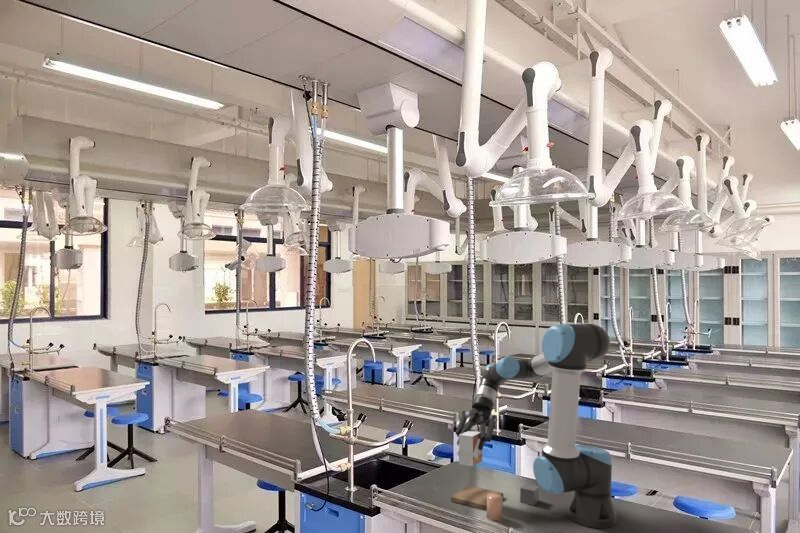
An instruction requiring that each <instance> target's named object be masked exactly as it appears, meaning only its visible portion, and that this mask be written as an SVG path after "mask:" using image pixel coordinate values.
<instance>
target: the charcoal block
mask: <svg viewBox="0 0 800 533" xmlns="http://www.w3.org/2000/svg"><path fill="white" fill-rule="evenodd" d="M539 490H540V486H539V485H538V486H537V485H532V484H527V483H525V484H523V485H522V486H521V487H520V494H519V496H520V497H519V498H520V499H519V500H520V501H519V502H520V503H523V504H526V503H527V504H526V505H530V504H531V506H536V504H537V503H539V501H540V500H539V498H540V495H539V494H540V491H539Z"/></svg>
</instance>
